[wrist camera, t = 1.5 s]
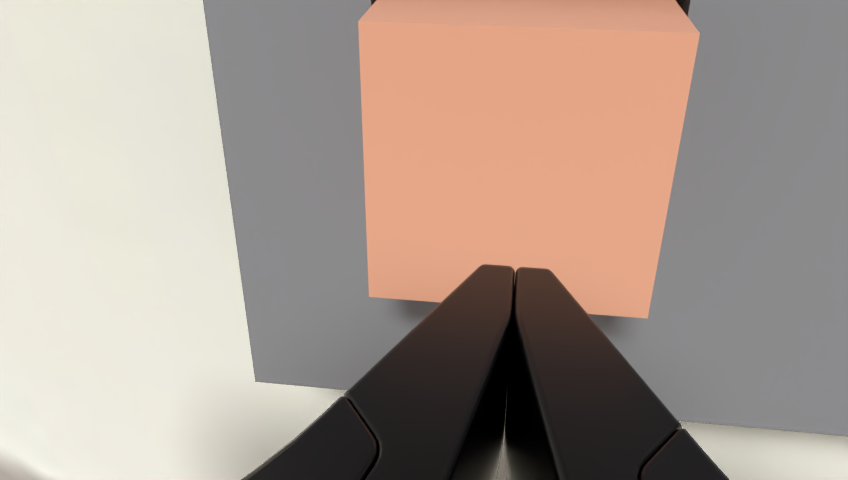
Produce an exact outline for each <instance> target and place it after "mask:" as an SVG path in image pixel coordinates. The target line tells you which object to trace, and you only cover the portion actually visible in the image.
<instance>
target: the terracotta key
mask: <svg viewBox="0 0 848 480" xmlns="http://www.w3.org/2000/svg"><path fill="white" fill-rule="evenodd" d="M358 30H359V56H360V81H361V107H362V132H363V158H364V183H365V209H366V235H367V260H368V286H369V297H377V298H390V299H403V300H415V301H428V302H442V301H443V300H444V299H445V298H446V297H447V296H448V295H449V294H450V293H452V292H453V291H454V290H455V289H456V288H457V287H458V286H459V285H460V284H461V283H462V282H463V281H464V280H465V279H466V278H467V277H468V276H470V275H471V274H472V273H473V272H474V271H475V270H476V269H477V268H478V267H479V266H481V265H483V264H490V265H504V266H511V267H512V268H514V270H515V272H516V270H517V269H518V268H519V267H532V268H546V269H549V270H551V271H552V272H553V273H554V275H555V276H556V277H557V278H558V279H559V280H560V282H561V283H562V284H563V285H564V286H565V288H566V289H567V290H568V291H569V292H570V293H571V295H572V296H573V297H574V298H575V299H576V301H577V302H578V303H579V304H580V305H581V307H582V308H583V309H584V310H585V311H586V312H587V314H596V315H609V316H621V317H634V318H647V319H648V314H649V308H650V303H651V297H652V292H653V286H654V281H655V276H656V270H657V265H658V259H659V254H660V248H661V243H662V237H663V232H664V227H665V221H666V216H667V210H668V205H669V199H670V194H671V189H672V183H673V178H674V172H675V167H676V161H677V156H678V150H679V145H680V140H681V134H682V129H683V123H684V118H685V112H686V107H687V101H688V96H689V91H690V85H691V80H692V74H693V69H694V63H695V58H696V52H697V47H698V42H699V36H700V33H699V31H698V30H697V29H696V27H695V26H694V25H693V23H692V22H691V21H690V19H689V18H688V17H687V15H686V14H685V13H684V11H683V10H682V8H681V7H680V6H679V4H678V3H677V2H676V0H376V1H375V3H374V4H373V5H372V6H371V7H370V8H369V9H368V11H367V12H366V13H365V14H364V15H363V16H362V17H361V19H360V20H359V21H358ZM514 283H515V282H514Z"/></svg>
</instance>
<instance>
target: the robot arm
mask: <svg viewBox="0 0 848 480" xmlns="http://www.w3.org/2000/svg"><path fill="white" fill-rule="evenodd" d="M514 282H515V283H514ZM506 399H507V402H506ZM505 413H506V417H505ZM504 426H505V442H504V446H505V467H506V480H729V479H728V478H727V476H726V475H725V474H724V473H723V472H722V471H721V470H720V469H719V468H718V466H717V465H716V464H715V463H714V462H713V461H712V460H711V459H710V458H709V456H708V455H707V454H706V453H705V452H704V451H703V450H702V448H701V447H700V446H699V445H698V444H697V443H696V441H695V440H694V439H693V438H692V437H691V435H690V434H689V433H688V432H687V431H686V430H685V429H682V426H681V424H680V423H679V422H678V420H677V419H676V418H675V417H674V416H673V415H672V413H671V412H670V411H669V410H668V409H667V407H666V406H665V405H664V404H663V403H662V401H661V400H660V399H659V398H658V397H657V396H656V394H655V393H654V392H653V391H652V390H651V388H650V387H649V386H648V385H647V384H646V382H645V381H644V380H643V379H642V378H641V377H640V375H639V374H638V373H637V372H636V371H635V369H634V368H633V367H632V366H631V365H630V363H629V362H628V361H627V360H626V359H625V358H624V356H623V355H622V354H621V353H620V352H619V350H618V349H617V348H616V347H615V346H614V345H613V343H612V342H611V341H610V340H609V339H608V337H607V336H606V335H605V334H604V333H603V331H602V330H601V329H600V328H599V327H598V326H597V324H596V323H595V322H594V321H593V320H592V318H591V317H590V316H589V315H588V314H587V312H586V311H585V310H584V309H583V308H582V307H581V305H580V304H579V303H578V302H577V301H576V299H575V298H574V297H573V296H572V295H571V293H570V292H569V291H568V290H567V289H566V288H565V286H564V285H563V284H562V283H561V282H560V280H559V279H558V278H557V277H556V276H555V275H554V273H553V272H552V271H551V270H549V269H546V268H532V267H519V268H518V269H517V270H516V272H515V270H514V268H512V267H511V266H504V265H490V264H483V265H481V266H479V267H478V268H477V269H476V270H475V271H474V272H473V273H472V274H471V275H470V276H468V277H467V278H466V279H465V280H464V281H463V282H462V283H461V284H460V285H459V286H458V287H457V288H456V289H455V290H454V291H453V292H452V293H450V294H449V295H448V296H447V297H446V298H445V299H444V300H443V301H442V302H441V303H440V304H439V305H438V306H437V307H436V308H435V309H434V310H432V311H431V312H430V313H429V314H428V315H427V316H426V317H425V318H424V319H423V320H422V321H421V322H420V323H419V324H418V325H417V326H416V327H414V328H413V329H412V330H411V331H410V332H409V333H408V334H407V335H406V336H405V337H404V338H403V339H402V340H401V341H400V342H399V343H398V344H396V345H395V346H394V347H393V348H392V349H391V350H390V351H389V352H388V353H387V354H386V355H385V356H384V357H383V358H382V359H381V360H380V361H378V362H377V363H376V364H375V365H374V366H373V367H372V368H371V369H370V370H369V371H368V372H367V373H366V374H365V375H364V376H363V377H362V378H360V379H359V380H358V381H357V382H356V383H355V384H354V385H353V386H352V387H351V388H350V389H349V390H348V391H347V392H346V393H345V394H344V397H340V398H339V399H338V400H337V401H336V402H335V403H334V404H332V405H331V406H330V407H329V408H328V409H327V410H326V411H325V412H324V413H323V414H322V415H321V416H320V417H318V418H317V419H316V420H315V421H314V422H313V423H312V424H311V425H309V426H308V427H307V428H306V429H305V430H304V431H303V432H301V433H300V434H299V435H298V436H297V437H296V438H295V439H293V440H292V441H291V442H290V443H289V444H287V445H286V446H285V447H283V448H282V449H281V450H280V451H278V452H277V453H276V454H274V455H273V456H272V457H271V458H269V459H268V460H267V461H265V462H264V463H263V464H262V465H260V466H259V467H258V468H256V469H255V470H254V471H252V472H251V473H250V474H248V475H247V476H246V477H244V478H243V479H242V480H496V477H497V472H498V468H499V463H500V457H501V451H502V445H503V436H504Z"/></svg>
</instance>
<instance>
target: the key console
mask: <svg viewBox="0 0 848 480" xmlns="http://www.w3.org/2000/svg"><path fill="white" fill-rule="evenodd" d="M375 1H376V0H203V4H204V11H205V19H206V26H207V33H208V40H209V48H210V55H211V62H212V70H213V77H214V84H215V91H216V99H217V106H218V113H219V120H220V128H221V135H222V142H223V149H224V157H225V164H226V171H227V178H228V186H229V193H230V200H231V207H232V215H233V222H234V229H235V237H236V244H237V251H238V258H239V266H240V273H241V280H242V287H243V295H244V302H245V309H246V316H247V324H248V331H249V338H250V345H251V353H252V360H253V367H254V374H255V382H265V383H275V384H286V385H297V386H308V387H319V388H330V389H340V390H349V389H350V388H351V387H352V386H353V385H354V384H355V383H356V382H357V381H358V380H359V379H360V378H362V377H363V376H364V375H365V374H366V373H367V372H368V371H369V370H370V369H371V368H372V367H373V366H374V365H375V364H376V363H377V362H378V361H380V360H381V359H382V358H383V357H384V356H385V355H386V354H387V353H388V352H389V351H390V350H391V349H392V348H393V347H394V346H395V345H396V344H398V343H399V342H400V341H401V340H402V339H403V338H404V337H405V336H406V335H407V334H408V333H409V332H410V331H411V330H412V329H413V328H414V327H416V326H417V325H418V324H419V323H420V322H421V321H422V320H423V319H424V318H425V317H426V316H427V315H428V314H429V313H430V312H431V311H432V310H434V309H435V308H436V307H437V306H438V305H439V304H440V303H441V302H428V301H415V300H403V299H390V298H377V297H369V286H368V260H367V235H366V209H365V183H364V158H363V132H362V107H361V81H360V56H359V30H358V21H359V20H360V19H361V17H362V16H363V15H364V14H365V13H366V12H367V11H368V9H369V8H370V7H371V6H372V5H373V4H374V3H375ZM676 2H677V3H678V4H679V6H680V7H681V8H682V10H683V11H684V13H685V14H686V15H687V17H688V18H689V19H690V21H691V22H692V23H693V25H694V26H695V27H696V29H697V30H698V31H699V33H700V36H699V42H698V47H697V52H696V58H695V63H694V69H693V74H692V80H691V85H690V91H689V96H688V101H687V107H686V112H685V118H684V123H683V129H682V134H681V140H680V145H679V150H678V156H677V161H676V167H675V172H674V178H673V183H672V189H671V194H670V199H669V205H668V210H667V216H666V221H665V227H664V232H663V237H662V243H661V248H660V254H659V259H658V265H657V270H656V276H655V281H654V286H653V292H652V297H651V303H650V308H649V314H648V319H647V318H634V317H621V316H609V315H596V314H588V315H589V316H590V317H591V318H592V320H593V321H594V322H595V323H596V324H597V326H598V327H599V328H600V329H601V330H602V331H603V333H604V334H605V335H606V336H607V337H608V339H609V340H610V341H611V342H612V343H613V345H614V346H615V347H616V348H617V349H618V350H619V352H620V353H621V354H622V355H623V356H624V358H625V359H626V360H627V361H628V362H629V363H630V365H631V366H632V367H633V368H634V369H635V371H636V372H637V373H638V374H639V375H640V377H641V378H642V379H643V380H644V381H645V382H646V384H647V385H648V386H649V387H650V388H651V390H652V391H653V392H654V393H655V394H656V396H657V397H658V398H659V399H660V400H661V401H662V403H663V404H664V405H665V406H666V407H667V409H668V410H669V411H670V412H671V413H672V415H673V416H674V417H675V418H676V419H677V420H678V421H687V422H698V423H709V424H720V425H731V426H742V427H752V428H763V429H774V430H785V431H796V432H807V433H818V434H828V435H839V436H848V0H676ZM506 402H507V399H506Z"/></svg>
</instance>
